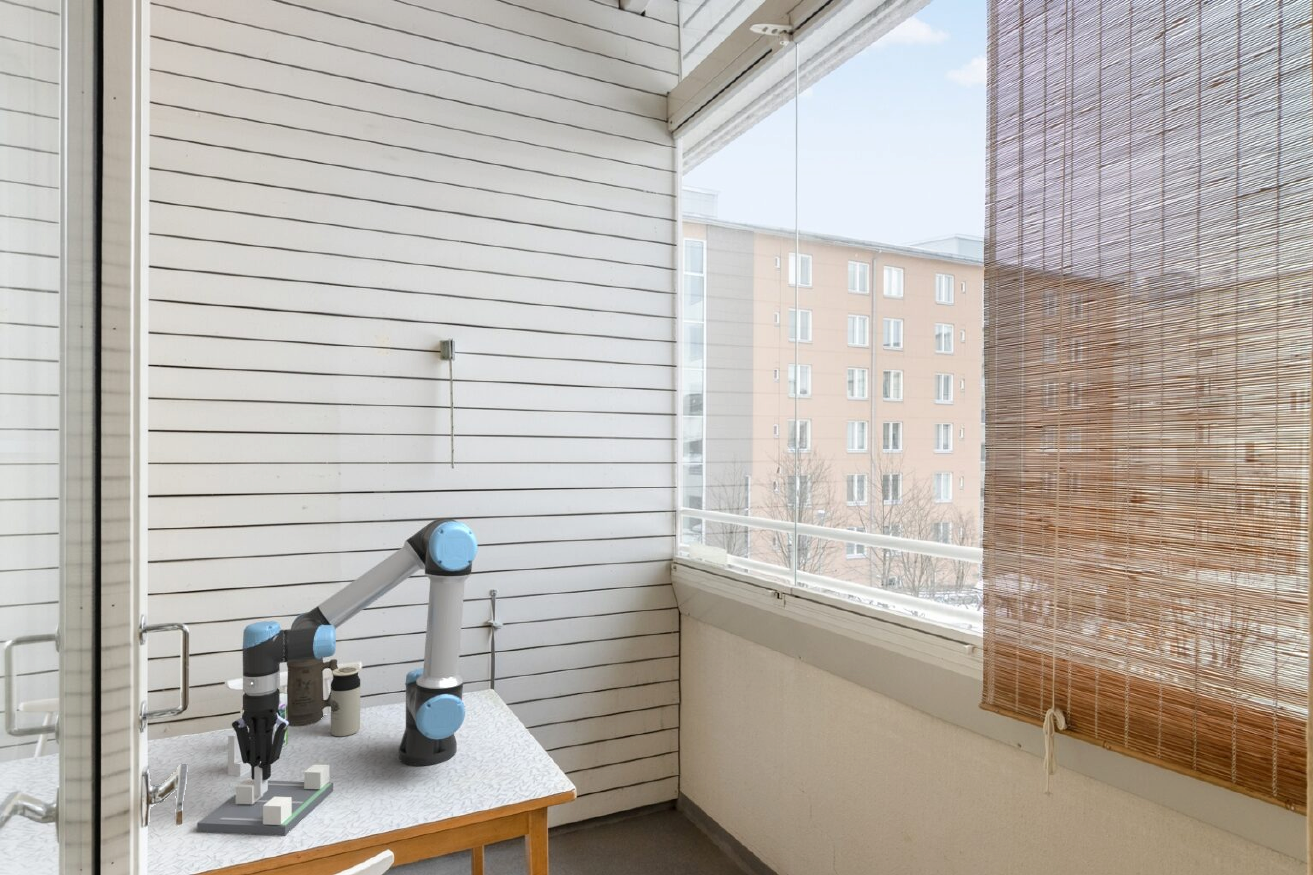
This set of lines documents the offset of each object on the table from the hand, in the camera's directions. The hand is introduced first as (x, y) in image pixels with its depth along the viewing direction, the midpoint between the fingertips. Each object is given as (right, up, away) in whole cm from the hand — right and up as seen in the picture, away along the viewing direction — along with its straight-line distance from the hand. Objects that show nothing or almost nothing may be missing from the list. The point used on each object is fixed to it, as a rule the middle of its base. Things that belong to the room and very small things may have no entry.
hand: (261, 792), depth 166 cm
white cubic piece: (+10, -2, +7) cm, 12 cm away
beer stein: (-14, -5, +55) cm, 57 cm away
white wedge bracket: (-16, -4, +20) cm, 26 cm away
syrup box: (-16, -4, +34) cm, 38 cm away
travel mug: (0, -5, +45) cm, 45 cm away
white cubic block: (-3, -2, 0) cm, 3 cm away
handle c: (+8, -2, -9) cm, 12 cm away
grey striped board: (+2, -4, 0) cm, 4 cm away
